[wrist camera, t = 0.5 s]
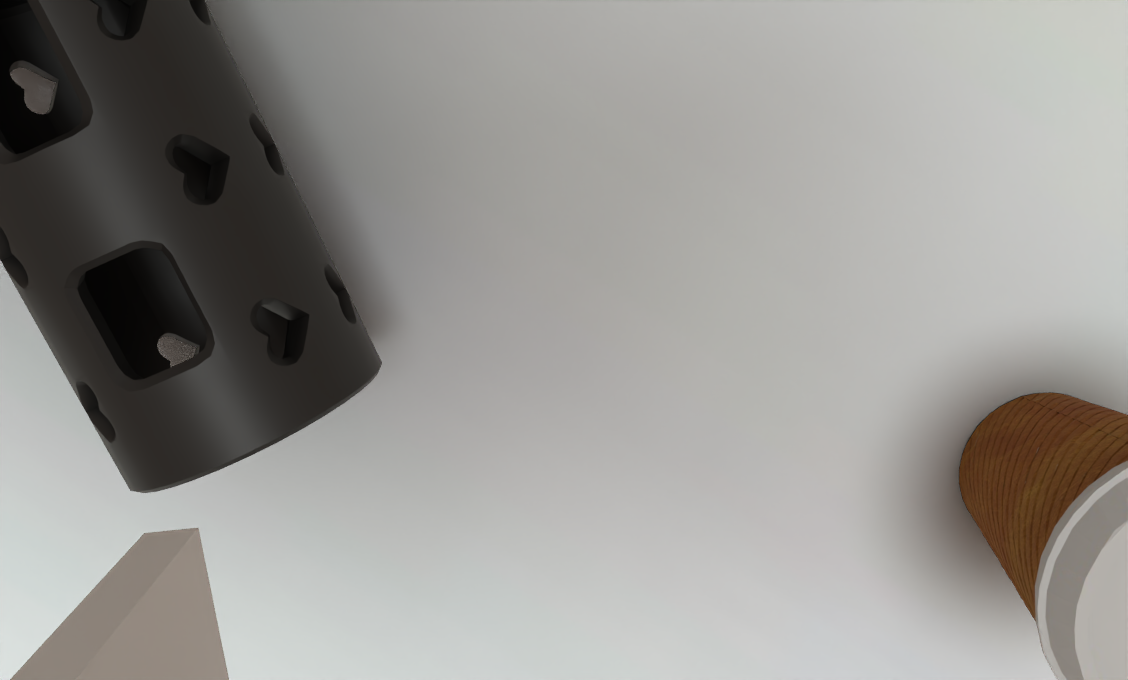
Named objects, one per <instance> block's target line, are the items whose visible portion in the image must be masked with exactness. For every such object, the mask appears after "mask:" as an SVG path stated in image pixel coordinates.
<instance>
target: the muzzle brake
mask: <svg viewBox="0 0 1128 680" xmlns="http://www.w3.org/2000/svg"><path fill="white" fill-rule="evenodd" d="M20 67H21V68H26V69H29V70H31V71H33V72H35V73H37V74H39V75H41V76H42V77H44V78H47V79H49V80H51V81H53V82H56V85H55V89H54V92H53V96H52V100H51V104H50V109H49V111H48V112H47V114H42V115H41V114H36V113H34V112H32V111H31V110H30V109H29V108H27V106H26V104H25V101H24V89H23V88H21V87H20V86H19V85H17V84H16V83H15V82H14V81H13V80H12V78H11V76H10V73H11V72H12V70H14V69H16V68H20ZM0 260H1V261H2V263H3V265H4V267H5V269H6V271H7V272H8V274H9V276H10V278H11V280H12V281H13V283H14V285H15V287H16V288H17V290H18V292H19V294H20V296H21V297H22V299H23V301H24V303H25V304H26V306H27V308H28V310H29V312H30V313H31V315H32V317H33V319H34V320H35V322H36V324H37V326H38V327H39V329H40V331H41V333H42V335H43V336H44V338H45V340H46V342H47V343H48V345H49V347H50V349H51V351H52V352H53V354H54V356H55V358H56V359H57V361H58V363H59V365H60V367H61V368H62V370H63V372H64V374H65V375H66V377H67V379H68V381H69V382H70V384H71V386H72V388H73V390H74V391H75V393H76V395H77V397H78V398H79V400H80V402H81V404H82V406H83V407H84V409H85V411H86V412H87V414H88V416H89V418H90V420H91V422H92V423H93V425H94V427H95V429H96V430H97V432H98V434H99V436H100V438H101V439H102V441H103V443H104V445H105V446H106V448H107V450H108V452H109V453H110V455H111V457H112V459H113V461H114V462H115V464H116V466H117V468H118V469H119V471H120V473H121V475H122V477H123V478H124V480H125V482H126V484H127V485H128V487H129V489H130V491H136V492H141V493H148V492H156V491H160V490H164V489H168V488H171V487H175V486H178V485H181V484H184V483H186V482H189V481H192V480H195V479H197V478H200V477H202V476H205V475H207V474H210V473H212V472H215V471H217V470H220V469H222V468H224V467H227V466H229V465H231V464H233V463H235V462H238V461H240V460H242V459H244V458H247V457H249V456H251V455H253V454H255V453H257V452H259V451H261V450H263V449H265V448H267V447H269V446H271V445H273V444H275V443H277V442H279V441H281V440H282V439H284V438H286V437H288V436H290V435H292V434H294V433H295V432H297V431H299V430H301V429H303V428H304V427H306V426H308V425H310V424H311V423H313V422H315V421H316V420H318V419H320V418H322V417H323V416H325V415H326V414H328V413H329V412H331V411H333V410H334V409H336V408H337V407H339V406H340V405H342V404H343V403H345V402H346V401H347V400H349V399H350V398H352V397H353V396H354V395H356V394H357V393H358V392H360V391H361V390H362V389H363V388H364V387H365V386H367V385H368V384H369V383H370V382H371V381H372V380H373V379H374V377H375V376H376V375H377V374H378V371H379V369H380V367H381V364H382V362H381V360H380V358H379V356H378V354H377V351H376V349H375V347H374V345H373V343H372V341H371V339H370V337H369V335H368V333H367V331H366V329H365V327H364V325H363V323H362V321H361V319H360V317H359V315H358V313H357V311H356V309H355V307H354V305H353V303H352V301H351V299H350V297H349V295H348V293H347V291H346V289H345V287H344V284H343V282H342V280H341V278H340V276H339V274H338V272H337V270H336V268H335V266H334V264H333V262H332V260H331V258H330V256H329V254H328V252H327V250H326V248H325V246H324V244H323V241H322V239H321V237H320V235H319V233H318V231H317V229H316V227H315V225H314V223H313V221H312V219H311V217H310V215H309V213H308V211H307V209H306V207H305V205H304V203H303V201H302V199H301V197H300V195H299V193H298V191H297V189H296V186H295V184H294V182H293V180H292V178H291V176H290V174H289V172H288V170H287V168H286V166H285V164H284V162H283V160H282V158H281V156H280V154H279V152H278V150H277V148H276V146H275V144H274V142H273V140H272V138H271V136H270V134H269V132H268V129H267V127H266V125H265V123H264V121H263V119H262V117H261V115H260V113H259V111H258V109H257V107H256V105H255V103H254V101H253V99H252V97H251V95H250V93H249V91H248V89H247V87H246V85H245V83H244V81H243V79H242V76H241V74H240V72H239V70H238V68H237V66H236V64H235V62H234V60H233V58H232V56H231V54H230V52H229V50H228V48H227V46H226V44H225V42H224V40H223V38H222V36H221V34H220V32H219V30H218V28H217V26H216V24H215V21H214V19H213V17H212V15H211V13H210V11H209V9H208V7H207V5H206V3H205V1H204V0H0ZM164 336H168V337H172V338H175V339H177V340H179V341H182V342H184V343H186V344H189V345H192V346H194V347H197V348H196V351H195V355H194V357H193V358H191V359H189V360H186V361H184V362H182V363H180V364H178V365H175V366H173V367H171V368H170V361H169V360H167V359H166V358H164V357H163V356H162V355H161V354H160V353H159V351H158V349H157V343H158V340H159V338H161V337H164Z"/></svg>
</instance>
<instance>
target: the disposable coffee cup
mask: <svg viewBox="0 0 1128 680" xmlns="http://www.w3.org/2000/svg"><path fill="white" fill-rule="evenodd" d="M959 484H960V489H961V494H962V498H963V500H964V503H965V505H966V507H967V509H968V511H969V513H970V514H971V515H972V517H973V519H974V520H975V522H976V523H977V525H978V527H979V528H980V530H981V532H982V534H983V535H984V537H985V538H986V540H987V542H988V544H989V545H990V546H991V548H992V550H993V552H994V553H995V555H996V556H997V558H998V560H999V561H1000V563H1001V565H1002V567H1003V568H1004V570H1005V571H1006V573H1007V575H1008V577H1009V578H1010V579H1011V581H1012V583H1013V584H1014V586H1015V588H1016V590H1017V591H1018V593H1019V595H1020V597H1021V598H1022V600H1023V601H1024V603H1025V605H1026V607H1027V608H1028V609H1029V611H1030V613H1031V615H1032V617H1033V618H1034V619H1035V621H1036V624H1037V628H1038V633H1039V637H1040V641H1041V646H1042V650H1043V653H1044V655H1045V657H1046V659H1047V661H1048V663H1049V665H1050V667H1051V669H1052V671H1053V673H1054V675H1055V677H1056V678H1057V679H1058V680H1128V415H1126V414H1123V413H1120V412H1117V411H1114V410H1111V409H1108V408H1105V407H1102V406H1098V405H1095V404H1092V403H1089V402H1086V401H1083V400H1080V399H1078V398H1075V397H1071V396H1068V395H1064V394H1059V393H1038V394H1031V395H1026V396H1021V397H1019V398H1017V399H1015V400H1013V401H1011V402H1009V403H1006V404H1004V405H1002V406H1001V407H999V408H998V409H996V410H995V411H993V412H992V413H991V414H989V415H988V416H987V417H986V418H985V419H984V420H983V421H982V422H981V423H980V424H979V425H978V427H977V428H976V430H975V431H974V433H973V434H972V436H971V438H970V439H969V441H968V442H967V445H966V447H965V449H964V452H963V454H962V459H961V464H960V468H959Z"/></svg>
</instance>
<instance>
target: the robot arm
mask: <svg viewBox="0 0 1128 680" xmlns="http://www.w3.org/2000/svg"><path fill="white" fill-rule="evenodd" d="M10 680H229V678H228V673H227V668H226V663H225V658H224V653H223V648H222V643H221V638H220V633H219V628H218V623H217V618H216V613H215V608H214V604H213V599H212V594H211V589H210V584H209V579H208V574H207V569H206V564H205V559H204V554H203V549H202V544H201V539H200V534H199V529H198V528H191V529H181V530H172V531H162V532H152V533H144V534H143V535H142V536H141V537H140V539H139V540H138V541H137V542H136V543H135V544H134V545H133V546H132V547H131V548H130V549H129V551H128V552H127V553H126V554H125V555H124V556H123V557H122V558H121V559H120V560H119V561H118V563H117V564H116V565H115V566H114V567H113V568H112V569H111V570H110V571H109V572H108V573H107V575H106V576H105V577H104V578H103V579H102V580H101V581H100V582H99V583H98V584H97V586H96V587H95V588H94V589H93V590H92V591H91V592H90V593H89V594H88V595H87V596H86V598H85V599H84V600H83V601H82V602H81V603H80V604H79V605H78V606H77V607H76V608H75V610H74V611H73V612H72V613H71V614H70V615H69V616H68V617H67V618H66V619H65V620H64V622H63V623H62V624H61V625H60V626H59V627H58V628H57V629H56V630H55V631H54V632H53V634H52V635H51V636H50V637H49V638H48V639H47V640H46V641H45V642H44V643H43V644H42V646H41V647H40V648H39V649H38V650H37V651H36V652H35V653H34V654H33V655H32V656H31V658H30V659H29V660H28V661H27V662H26V663H25V664H24V665H23V666H22V667H21V668H20V670H19V671H18V672H17V673H16V674H15V675H14V676H13V677H12V678H11V679H10Z"/></svg>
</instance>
